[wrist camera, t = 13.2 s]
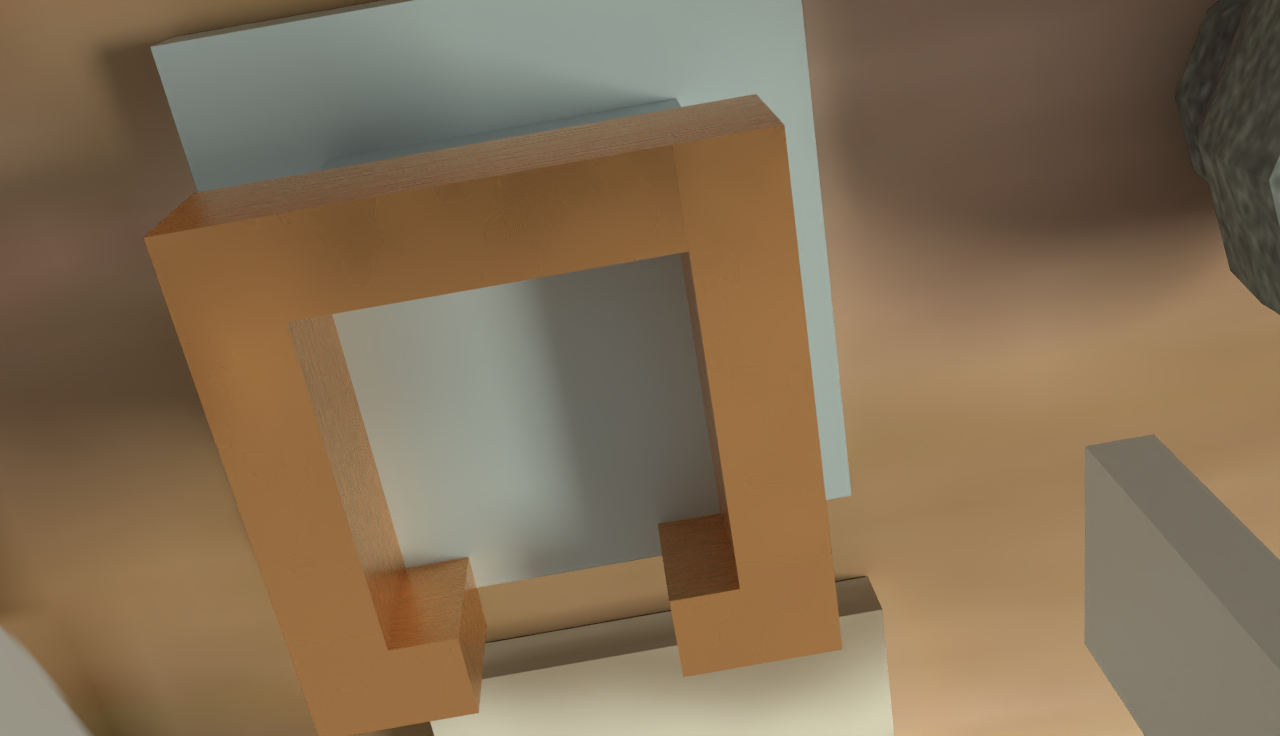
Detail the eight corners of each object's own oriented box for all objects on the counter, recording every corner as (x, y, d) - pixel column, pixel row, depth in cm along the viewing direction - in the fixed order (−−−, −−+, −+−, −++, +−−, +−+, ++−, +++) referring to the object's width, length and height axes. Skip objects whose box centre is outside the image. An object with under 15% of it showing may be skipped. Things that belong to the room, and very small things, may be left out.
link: (194, 192, 18) (143, 237, 16) (756, 94, 18) (784, 124, 16) (344, 651, 22) (320, 740, 20) (813, 569, 22) (842, 649, 20)
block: (173, 37, 24) (34, 95, 18) (781, -71, 24) (862, -51, 18) (337, 553, 29) (275, 743, 23) (837, 466, 29) (915, 631, 23)
